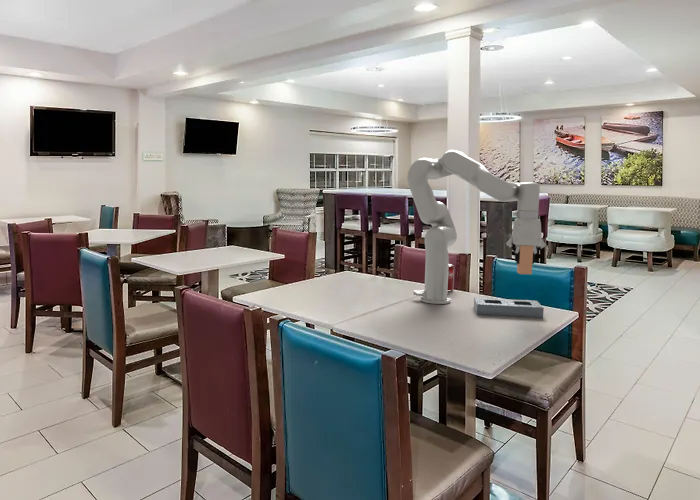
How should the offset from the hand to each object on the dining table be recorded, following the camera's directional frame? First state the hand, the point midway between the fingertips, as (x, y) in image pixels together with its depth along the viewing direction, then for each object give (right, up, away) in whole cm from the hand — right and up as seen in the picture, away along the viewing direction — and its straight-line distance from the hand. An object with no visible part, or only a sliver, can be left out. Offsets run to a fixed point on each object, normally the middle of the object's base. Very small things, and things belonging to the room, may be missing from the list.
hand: (524, 263), depth 192 cm
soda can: (-22, -14, +44) cm, 52 cm away
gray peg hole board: (-6, -19, +3) cm, 20 cm away
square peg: (0, -4, 0) cm, 4 cm away
